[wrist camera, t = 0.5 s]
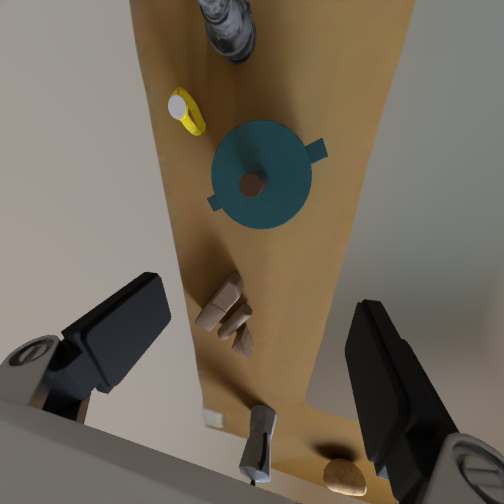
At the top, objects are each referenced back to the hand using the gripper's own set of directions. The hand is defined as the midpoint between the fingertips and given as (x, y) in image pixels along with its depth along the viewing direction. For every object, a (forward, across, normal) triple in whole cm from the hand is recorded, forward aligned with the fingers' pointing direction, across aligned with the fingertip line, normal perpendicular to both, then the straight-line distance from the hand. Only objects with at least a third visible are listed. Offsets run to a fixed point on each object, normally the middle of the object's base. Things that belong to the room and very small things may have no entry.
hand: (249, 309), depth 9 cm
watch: (+28, +15, -13) cm, 35 cm away
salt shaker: (+28, +8, -21) cm, 36 cm away
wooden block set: (+29, +9, +28) cm, 41 cm away
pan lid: (+22, +4, -4) cm, 23 cm away
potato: (+29, -24, +91) cm, 99 cm away
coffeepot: (+29, +4, +72) cm, 78 cm away
